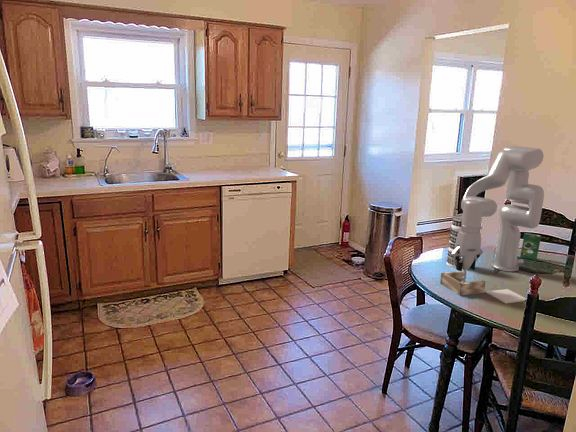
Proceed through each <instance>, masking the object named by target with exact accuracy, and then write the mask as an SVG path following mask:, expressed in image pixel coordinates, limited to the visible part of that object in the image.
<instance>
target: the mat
mask: <svg viewBox="0 0 576 432" xmlns="http://www.w3.org/2000/svg"><path fill="white" fill-rule="evenodd" d="M486 294H488V295H490V296H491V297H493V298H495V299H497V300H498V301H500V302H503V303H504V304H513V303H520V302H526V301H525V300H526V299H527V298H526V297H524V296H522V295H521V294H518V293H517V292H514V291H512V290H510V289H509V288H505V289H496V290H488V291H486Z"/></svg>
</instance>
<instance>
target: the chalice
mask: <svg viewBox="0 0 576 432" xmlns="http://www.w3.org/2000/svg"><path fill="white" fill-rule="evenodd" d="M466 252H467V254H466V256H464V258H463V260H462V263H463V266H462V270H463V271H464V272H463V277H462V278H463V280H462V282H461V283H466V279H467V270H469V269H470V266H471V265H472V263H473V261H474V256H475V252H476V251H466ZM460 257H461V256H460ZM465 275H466V276H465Z"/></svg>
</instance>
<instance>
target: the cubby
mask: <svg viewBox="0 0 576 432" xmlns="http://www.w3.org/2000/svg"><path fill="white" fill-rule="evenodd" d="M463 272H464V270H462V271H458V270H455V271H446V272H441V274H440V280H439V281H440V285H442V286H444V287H446V288H447V289H449V290H450V291H452V292H453V293H455V294H457V295H458V296H467V295H469V296H470V295H476V294H477V295H478V294H483V293H485V287H486V282H487V281H485V280H477V281H468V282H466V281H465V282H466V283H461V282H462V280H463V278H462V277H463ZM465 276H466V277H467V274H466V275H465Z"/></svg>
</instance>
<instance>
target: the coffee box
mask: <svg viewBox="0 0 576 432" xmlns="http://www.w3.org/2000/svg"><path fill="white" fill-rule="evenodd" d="M541 239H542V235H541V234H540V235H539V234H534V233H528V232H524V235H523V239H522V245H521V250H520V255H519V257H520V258H522V259H523V258H524V259H529V260H535V261H537V259H538V253H539V250H540V249H539V248H540V244H541Z"/></svg>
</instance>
